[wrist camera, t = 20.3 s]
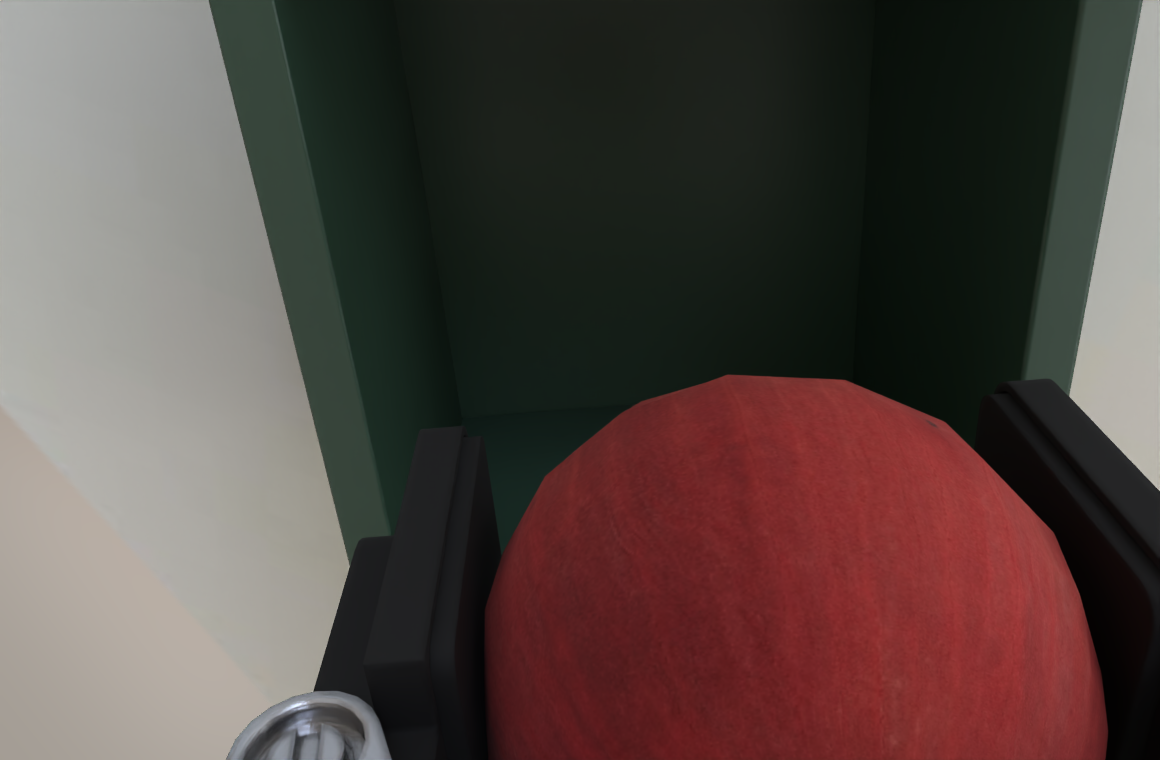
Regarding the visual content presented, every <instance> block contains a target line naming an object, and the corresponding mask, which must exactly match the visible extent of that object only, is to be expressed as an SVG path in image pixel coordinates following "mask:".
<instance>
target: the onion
mask: <svg viewBox="0 0 1160 760" xmlns="http://www.w3.org/2000/svg"><path fill="white" fill-rule="evenodd" d="M484 692H485V718H486V733H487V747H488V760H1105V759H1106V749H1107V739H1108V725H1107V716H1106V707H1105V698H1104V689H1103V681H1102V673H1101V669H1100V666H1099V662H1098V659H1097V655H1096V651H1095V648H1094V644H1093V640H1092V637H1091V633H1090V630H1089V626H1088V622H1087V619H1086V615H1085V612H1084V608H1083V604H1082V601H1081V597H1080V594H1079V591H1078V589H1077V586H1076V584H1075V582H1074V579H1073V577H1072V575H1071V572H1070V570H1069V567H1068V565H1067V563H1066V560H1065V558H1064V556H1063V553H1062V551H1061V549H1060V546H1059V544H1058V541H1057V539H1056V537H1055V534H1054V532H1053V531H1052V530H1051V529H1050V528H1049V527H1048V526H1047V525H1046V524H1045V523H1044V522H1043V521H1042V520H1041V519H1040V518H1039V517H1038V516H1037V515H1036V514H1035V513H1034V512H1033V511H1032V509H1031V508H1030V507H1029V506H1028V505H1027V504H1026V503H1025V502H1024V501H1023V500H1022V499H1021V498H1020V497H1019V496H1018V495H1017V494H1016V493H1015V492H1014V491H1013V490H1012V489H1011V488H1010V487H1009V486H1008V484H1007V483H1006V482H1005V481H1004V480H1003V479H1002V478H1001V477H1000V476H999V475H998V474H997V473H996V472H995V471H994V470H993V469H992V468H991V467H990V466H989V465H988V464H987V463H986V462H985V461H984V459H982V458H981V457H980V456H979V455H978V454H977V453H976V452H975V451H974V450H973V449H972V448H971V447H970V446H969V445H968V444H967V443H966V442H965V441H964V440H963V439H962V438H961V437H960V436H959V435H958V434H957V433H956V432H955V431H954V430H953V429H952V428H951V427H950V426H949V425H948V424H947V423H946V422H944V421H942V420H939V419H937V418H934V417H932V416H930V415H927V414H925V413H923V412H920V411H918V410H915V409H913V408H911V407H908V406H906V405H904V404H901V403H899V402H896V401H894V400H892V399H889V398H887V397H884V396H882V395H880V394H877V393H875V392H873V391H870V390H868V389H865V388H863V387H861V386H858V385H856V384H854V383H851V382H849V381H846V380H836V379H814V378H791V377H769V376H746V375H725V376H723V377H720V378H717V379H714V380H712V381H709V382H706V383H703V384H699V385H696V386H692V387H689V388H686V389H682V390H679V391H675V392H672V393H668V394H665V395H661V396H658V397H655V398H651V399H648V400H644V401H641V402H640V403H638V404H636V405H634V406H633V407H631V408H629V409H628V410H626V411H624V412H622V413H621V414H620V415H618V416H617V417H616V418H615V419H613V420H612V421H611V422H610V423H609V424H607V425H606V426H605V427H604V428H602V429H601V430H600V431H599V432H597V433H596V434H595V435H594V436H593V437H591V438H590V439H589V440H588V441H586V442H585V443H584V444H583V445H581V446H580V447H579V448H578V449H577V450H575V451H574V452H573V453H572V454H571V455H570V456H568V457H567V458H566V459H565V460H564V461H563V462H561V463H560V464H559V465H558V466H557V467H556V468H554V469H553V470H552V471H551V472H550V473H549V474H547V475H546V476H545V477H544V479H543V481H542V483H541V485H540V486H539V488H538V490H537V492H536V494H535V495H534V497H533V499H532V501H531V503H530V504H529V506H528V508H527V510H526V512H525V513H524V515H523V517H522V519H521V521H520V522H519V524H518V526H517V528H516V530H515V532H514V533H513V535H512V537H511V539H510V541H509V542H508V544H507V546H506V548H505V550H504V551H503V554H502V557H501V560H500V563H499V567H498V570H497V573H496V576H495V579H494V582H493V585H492V588H491V591H490V595H489V598H488V601H487V604H486V607H485V640H484Z"/></svg>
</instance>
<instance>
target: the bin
mask: <svg viewBox="0 0 1160 760" xmlns="http://www.w3.org/2000/svg"><path fill="white" fill-rule="evenodd" d="M1142 1H1143V0H209V4H210V8H211V12H212V16H213V20H214V24H215V28H216V32H217V36H218V40H219V44H220V48H221V52H222V56H223V60H224V64H225V68H226V72H227V76H228V80H229V84H230V88H231V92H232V96H233V100H234V104H235V108H236V112H237V116H238V120H239V124H240V128H241V132H242V136H243V140H244V144H245V148H246V152H247V156H248V160H249V164H250V168H251V172H252V176H253V180H254V184H255V188H256V192H257V196H258V200H259V204H260V208H261V212H262V216H263V220H264V224H265V228H266V232H267V236H268V240H269V244H270V248H271V252H272V256H273V260H274V264H275V268H276V272H277V276H278V280H279V284H280V288H281V292H282V296H283V300H284V304H285V308H286V312H287V316H288V320H289V324H290V328H291V332H292V336H293V340H294V344H295V348H296V352H297V356H298V360H299V364H300V368H301V372H302V376H303V380H304V384H305V388H306V392H307V396H308V400H309V404H310V408H311V412H312V416H313V420H314V424H315V428H316V432H317V436H318V440H319V444H320V448H321V452H322V456H323V460H324V464H325V468H326V472H327V476H328V480H329V484H330V488H331V492H332V496H333V500H334V504H335V508H336V512H337V516H338V520H339V524H340V528H341V532H342V536H343V540H344V544H345V548H346V552H347V556H348V560H349V564H350V565H351V561H352V558H353V555H354V551H355V548H356V546H357V544H358V541H359V540H361V539H362V538H366V537H379V536H392V535H394V533H395V529H396V525H397V521H398V517H399V512H400V508H401V504H402V500H403V496H404V492H405V487H406V483H407V479H408V475H409V471H410V467H411V463H412V458H413V454H414V450H415V446H416V442H417V438H418V434H419V431H420V430H421V429H432V428H444V427H456V426H465V428H466V430H467V433H468V437H475V436H482V437H483V439H484V443H485V449H486V455H487V462H488V468H489V475H490V482H491V488H492V495H493V501H494V508H495V515H496V521H497V528H498V534H499V541H500V548H501V554H503V551H504V550H505V548H506V546H507V544H508V542H509V541H510V539H511V537H512V535H513V533H514V532H515V530H516V528H517V526H518V524H519V522H520V521H521V519H522V517H523V515H524V513H525V512H526V510H527V508H528V506H529V504H530V503H531V501H532V499H533V497H534V495H535V494H536V492H537V490H538V488H539V486H540V485H541V483H542V481H543V479H544V477H545V476H546V475H547V474H549V473H550V472H551V471H552V470H553V469H554V468H556V467H557V466H558V465H559V464H560V463H561V462H563V461H564V460H565V459H566V458H567V457H568V456H570V455H571V454H572V453H573V452H574V451H575V450H577V449H578V448H579V447H580V446H581V445H583V444H584V443H585V442H586V441H588V440H589V439H590V438H591V437H593V436H594V435H595V434H596V433H597V432H599V431H600V430H601V429H602V428H604V427H605V426H606V425H607V424H609V423H610V422H611V421H612V420H613V419H615V418H616V417H617V416H618V415H620V414H621V413H622V412H624V411H626V410H628V409H629V408H631V407H633V406H634V405H636V404H638V403H640V402H641V401H644V400H648V399H651V398H655V397H658V396H661V395H665V394H668V393H672V392H675V391H679V390H682V389H686V388H689V387H692V386H696V385H699V384H703V383H706V382H709V381H712V380H714V379H717V378H720V377H723V376H725V375H746V376H769V377H791V378H814V379H836V380H846V381H849V382H851V383H854V384H856V385H858V386H861V387H863V388H865V389H868V390H870V391H873V392H875V393H877V394H880V395H882V396H884V397H887V398H889V399H892V400H894V401H896V402H899V403H901V404H904V405H906V406H908V407H911V408H913V409H915V410H918V411H920V412H923V413H925V414H927V415H930V416H932V417H934V418H937V419H939V420H942V421H944V422H946V423H947V424H948V425H949V426H950V427H951V428H952V429H953V430H954V431H955V432H956V433H957V434H958V435H959V436H960V437H961V438H962V439H963V440H964V441H965V442H966V443H967V444H968V445H969V446H970V447H971V448H972V449H973V450H974V446H975V438H976V431H977V423H978V416H979V408H980V404H981V400H982V399H983V397H984V396H985V395H992V394H994V391H995V389H996V387H997V385H999V384H1000V383H1001V382H1009V381H1022V380H1034V379H1051V380H1053V381H1054V382H1055V383H1056V384H1057V385H1058V386H1059V387H1060V388H1061V389H1062V390H1063V391H1064V392H1065V393H1066V394H1067V395H1068V396H1069V394H1070V388H1071V383H1072V378H1073V372H1074V367H1075V361H1076V356H1077V351H1078V345H1079V340H1080V335H1081V329H1082V324H1083V318H1084V313H1085V308H1086V302H1087V297H1088V292H1089V286H1090V281H1091V275H1092V270H1093V265H1094V259H1095V254H1096V249H1097V243H1098V238H1099V232H1100V227H1101V222H1102V216H1103V211H1104V206H1105V200H1106V195H1107V189H1108V184H1109V179H1110V173H1111V168H1112V163H1113V157H1114V152H1115V147H1116V141H1117V136H1118V130H1119V125H1120V120H1121V114H1122V109H1123V104H1124V98H1125V93H1126V87H1127V82H1128V77H1129V71H1130V66H1131V61H1132V55H1133V50H1134V44H1135V39H1136V34H1137V28H1138V23H1139V18H1140V12H1141V7H1142Z"/></svg>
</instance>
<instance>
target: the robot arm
mask: <svg viewBox="0 0 1160 760" xmlns="http://www.w3.org/2000/svg"><path fill="white" fill-rule="evenodd" d="M974 451H975V452H976V453H977V454H978V455H979V456H980V457H981V458H982V459H984V461H985V462H986V463H987V464H988V465H989V466H990V467H991V468H992V469H993V470H994V471H995V472H996V473H997V474H998V475H999V476H1000V477H1001V478H1002V479H1003V480H1004V481H1005V482H1006V483H1007V484H1008V486H1009V487H1010V488H1011V489H1012V490H1013V491H1014V492H1015V493H1016V494H1017V495H1018V496H1019V497H1020V498H1021V499H1022V500H1023V501H1024V502H1025V503H1026V504H1027V505H1028V506H1029V507H1030V508H1031V509H1032V511H1033V512H1034V513H1035V514H1036V515H1037V516H1038V517H1039V518H1040V519H1041V520H1042V521H1043V522H1044V523H1045V524H1046V525H1047V526H1048V527H1049V528H1050V529H1051V530H1052V531H1053V532H1054V534H1055V537H1056V539H1057V541H1058V544H1059V546H1060V549H1061V551H1062V553H1063V556H1064V558H1065V560H1066V563H1067V565H1068V567H1069V570H1070V572H1071V575H1072V577H1073V579H1074V582H1075V584H1076V586H1077V589H1078V591H1079V594H1080V597H1081V601H1082V604H1083V608H1084V612H1085V615H1086V619H1087V622H1088V626H1089V630H1090V633H1091V637H1092V640H1093V644H1094V648H1095V651H1096V655H1097V659H1098V662H1099V666H1100V669H1101V673H1102V681H1103V689H1104V698H1105V707H1106V716H1107V725H1108V739H1107V749H1106V759H1105V760H1160V491H1159V490H1158V489H1157V488H1156V487H1155V486H1154V485H1153V484H1152V483H1151V482H1150V481H1149V480H1148V479H1147V478H1146V477H1145V476H1144V475H1143V473H1142V472H1141V471H1140V470H1139V469H1138V468H1137V467H1136V466H1135V465H1134V464H1133V463H1132V462H1131V461H1130V460H1129V459H1128V458H1127V457H1126V456H1125V455H1124V454H1123V453H1122V452H1121V450H1120V449H1119V448H1118V447H1117V446H1116V445H1115V444H1114V443H1113V442H1112V441H1111V440H1110V439H1109V438H1108V437H1107V436H1106V435H1105V434H1104V433H1103V432H1102V431H1101V430H1100V429H1099V427H1098V426H1097V425H1096V424H1095V423H1094V422H1093V421H1092V420H1091V419H1090V418H1089V417H1088V416H1087V415H1086V414H1085V413H1084V412H1083V411H1082V410H1081V409H1080V408H1079V407H1078V406H1077V404H1076V403H1075V402H1074V401H1073V400H1072V399H1071V398H1070V397H1069V396H1068V395H1067V394H1066V393H1065V392H1064V391H1063V390H1062V389H1061V388H1060V387H1059V386H1058V385H1057V384H1056V383H1055V382H1054V381H1053V380H1051V379H1034V380H1022V381H1009V382H1001V383H1000V384H999V385H997V387H996V389H995V391H994V394H992V395H985V396H984V397H983V399H982V400H981V404H980V408H979V416H978V423H977V431H976V438H975V446H974ZM501 557H502V554H501V548H500V541H499V534H498V528H497V521H496V515H495V508H494V501H493V495H492V488H491V482H490V475H489V468H488V462H487V455H486V449H485V443H484V439H483V437H482V436H475V437H468V433H467V430H466V428H465V426H456V427H444V428H432V429H421V430H420V431H419V434H418V438H417V442H416V446H415V450H414V454H413V458H412V463H411V467H410V471H409V475H408V479H407V483H406V487H405V492H404V496H403V500H402V504H401V508H400V512H399V517H398V521H397V525H396V529H395V533H394V535H392V536H379V537H366V538H362V539H361V540H359V541H358V544H357V546H356V548H355V551H354V555H353V558H352V561H351V565H350V568H349V572H348V575H347V579H346V582H345V585H344V589H343V592H342V596H341V599H340V603H339V606H338V609H337V613H336V616H335V620H334V623H333V626H332V630H331V633H330V637H329V640H328V644H327V647H326V650H325V654H324V657H323V661H322V664H321V667H320V671H319V674H318V678H317V681H316V685H315V688H314V691H313V692H311V693H306V694H302V695H298V696H294V697H291V698H289V699H287V700H285V701H283V702H280V703H278V704H276V705H274V706H272V707H270V708H269V709H267V710H266V711H265V712H263V713H262V714H261V715H259V716H258V717H257V718H255V719H254V720H252V721H251V722H250V723H249V724H248V726H247V727H246V728H245V729H244V730H243V731H242V733H241V734H240V735H239V736H238V737H237V738H236V739H235V742H234V744H233V746H232V748H231V750H230V752H229V754H228V756H227V758H226V760H488V747H487V733H486V718H485V692H484V640H485V607H486V604H487V601H488V598H489V595H490V591H491V588H492V585H493V582H494V579H495V576H496V573H497V570H498V567H499V563H500V560H501Z"/></svg>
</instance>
